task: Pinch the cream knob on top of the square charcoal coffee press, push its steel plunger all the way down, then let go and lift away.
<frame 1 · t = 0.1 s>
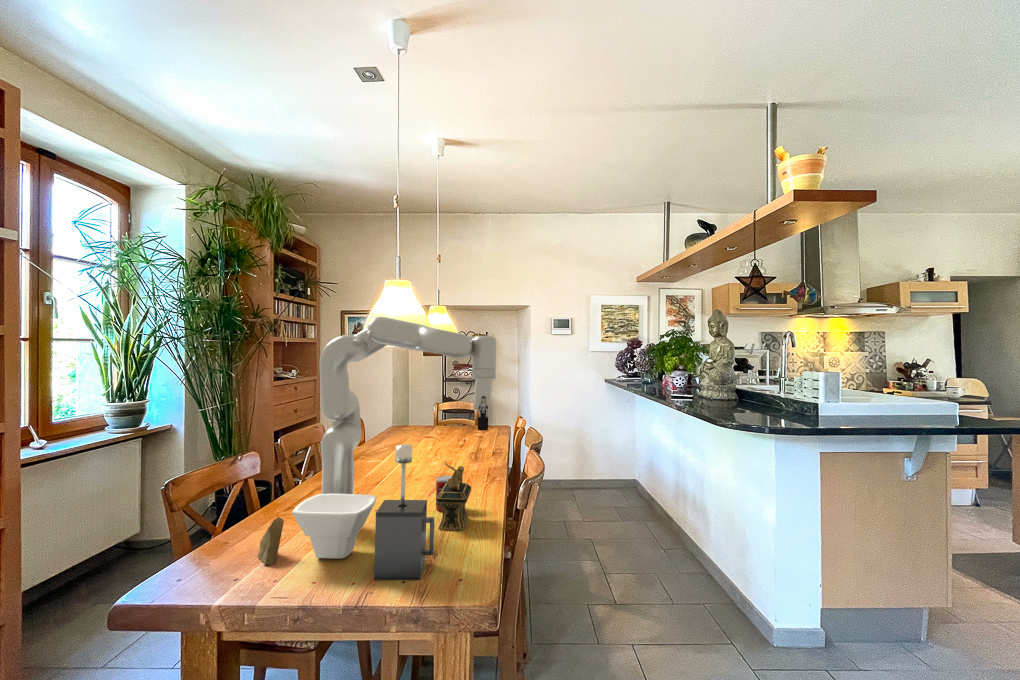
hand: (482, 428, 164), 31 cm above the table, tool pointing down, fingers open, 9 cm apart
decorative box: (452, 526, 164), on the table
canned food: (446, 510, 181), on the table
plunger: (403, 486, 130), point 21 cm above the table, slide at 0.0 cm
rock: (267, 559, 135), on the table
bowl: (335, 556, 138), on the table
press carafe: (400, 570, 129), on the table
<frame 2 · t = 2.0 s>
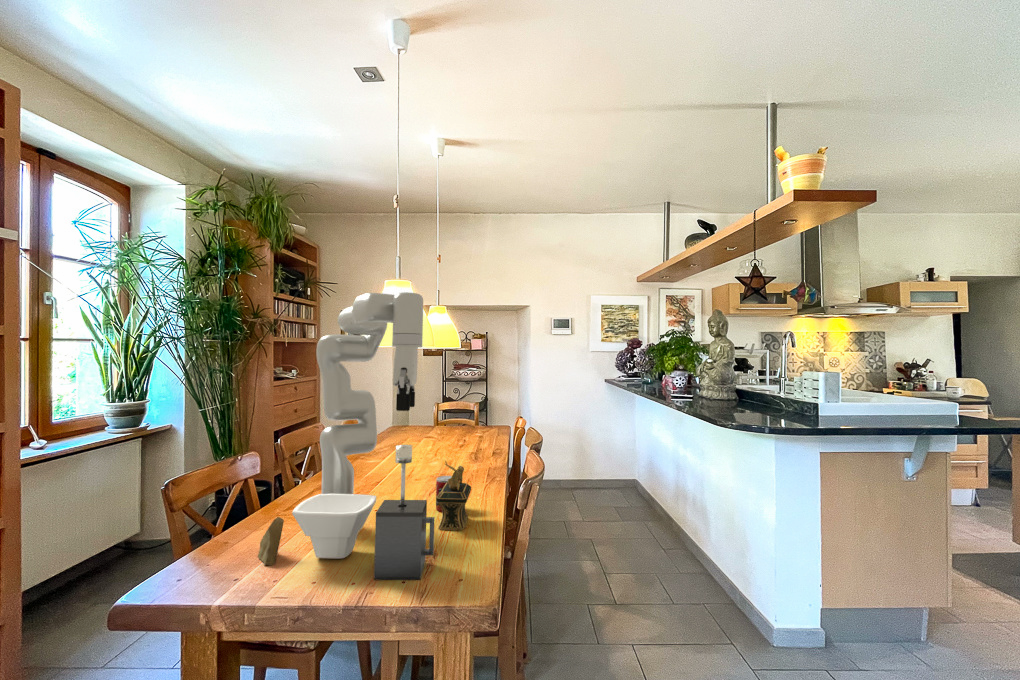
hand: (405, 408, 131), 40 cm above the table, tool pointing down, fingers open, 9 cm apart
nothing on the table moved.
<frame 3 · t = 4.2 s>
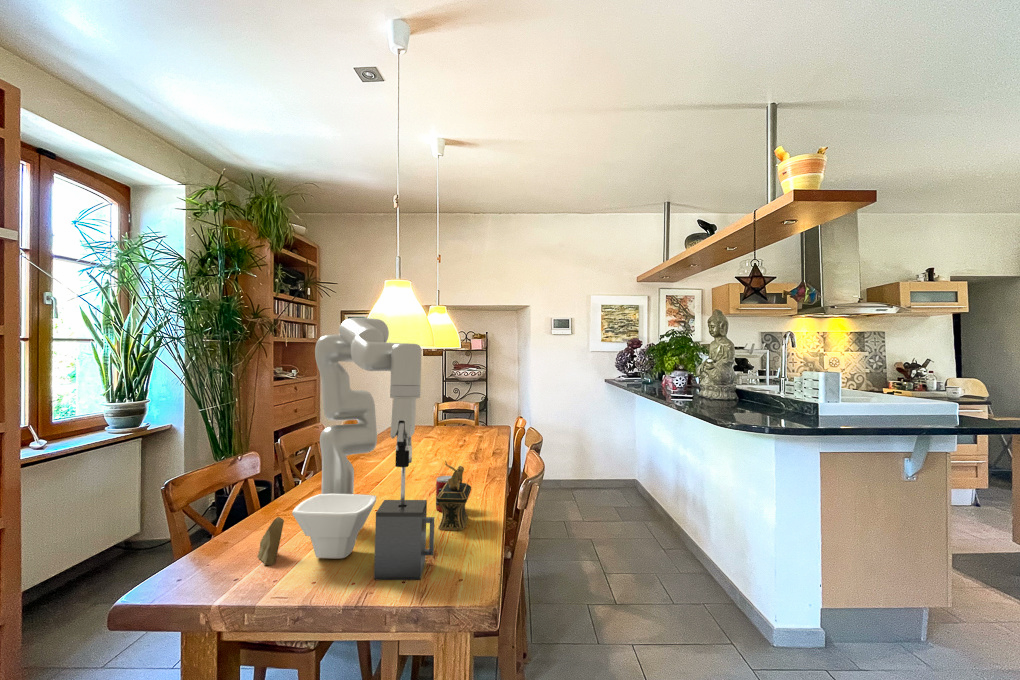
hand: (403, 464, 130), 26 cm above the table, tool pointing down, fingers closed on plunger, 4 cm apart
plunger: (403, 487, 130), point 21 cm above the table, slide at 0.0 cm, touching gripper
everything else where it was.
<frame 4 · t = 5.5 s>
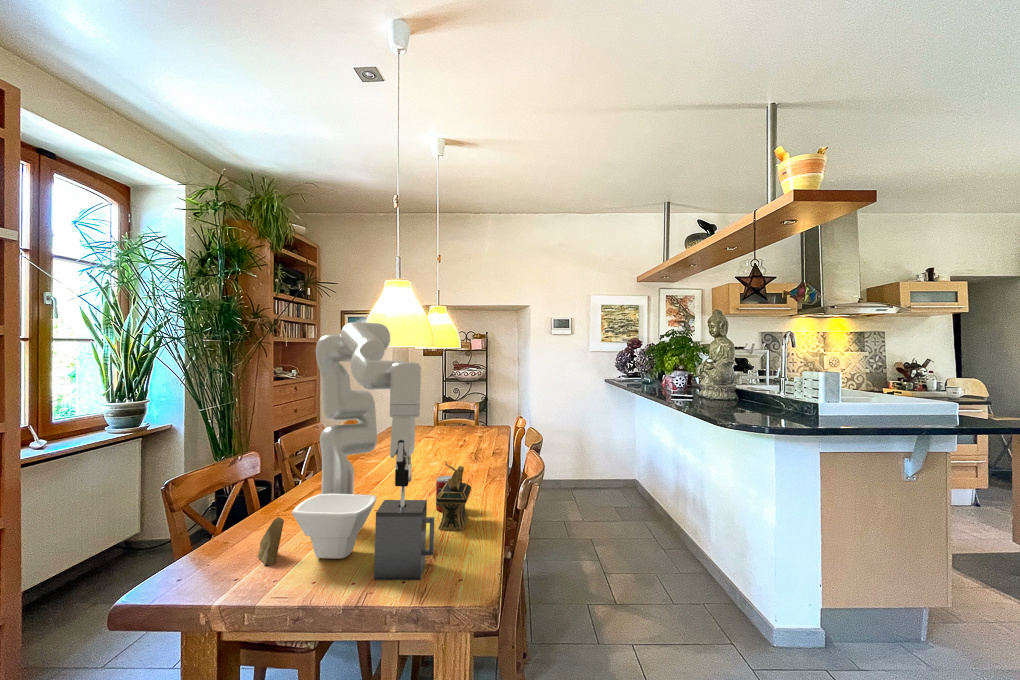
hand: (403, 482, 130), 22 cm above the table, tool pointing down, fingers closed on plunger, 4 cm apart
plunger: (402, 505, 130), point 16 cm above the table, slide at 4.8 cm, touching gripper
everything else where it was.
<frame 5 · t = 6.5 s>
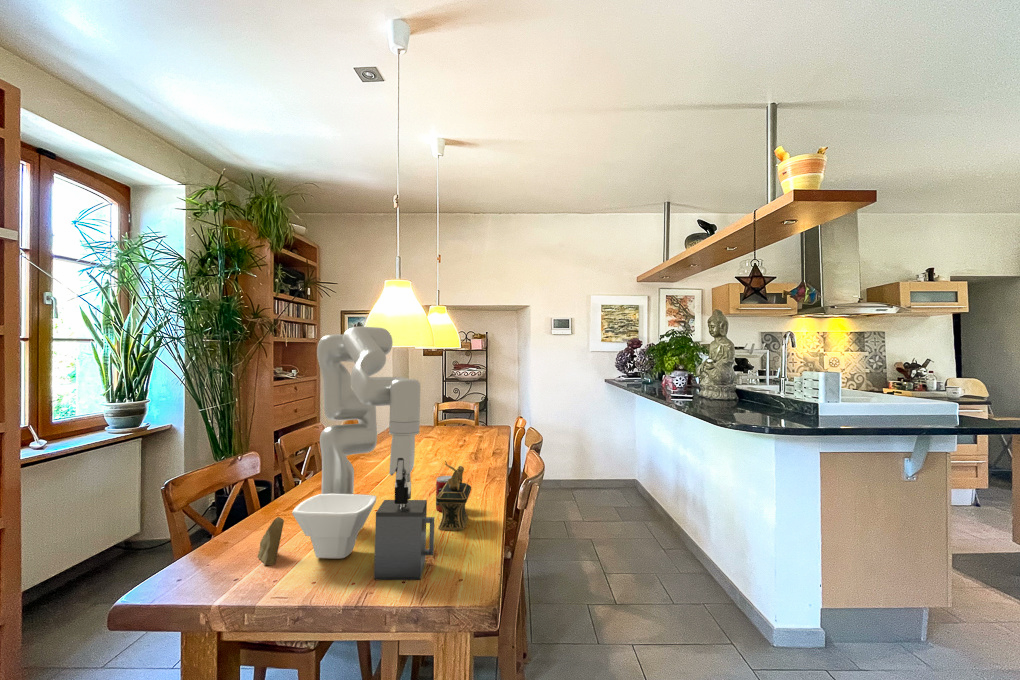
hand: (402, 500, 130), 17 cm above the table, tool pointing down, fingers closed on plunger, 4 cm apart
plunger: (402, 523, 129), point 12 cm above the table, slide at 9.1 cm, touching gripper
everything else where it was.
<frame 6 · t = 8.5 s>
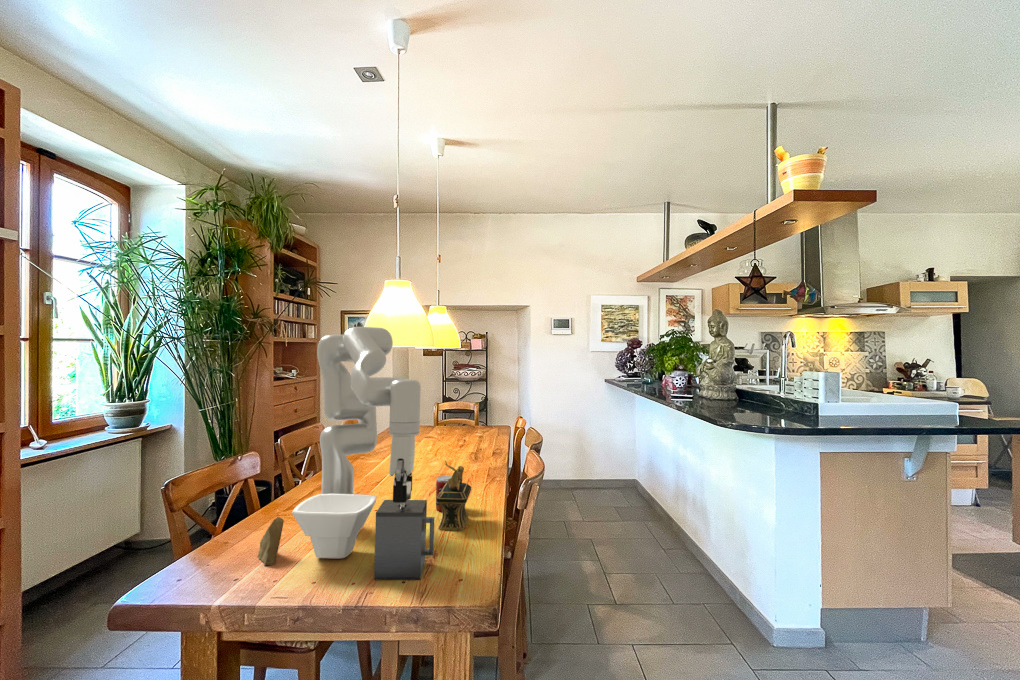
hand: (402, 496, 130), 18 cm above the table, tool pointing down, fingers open, 9 cm apart
plunger: (402, 523, 129), point 12 cm above the table, slide at 9.1 cm
everything else where it was.
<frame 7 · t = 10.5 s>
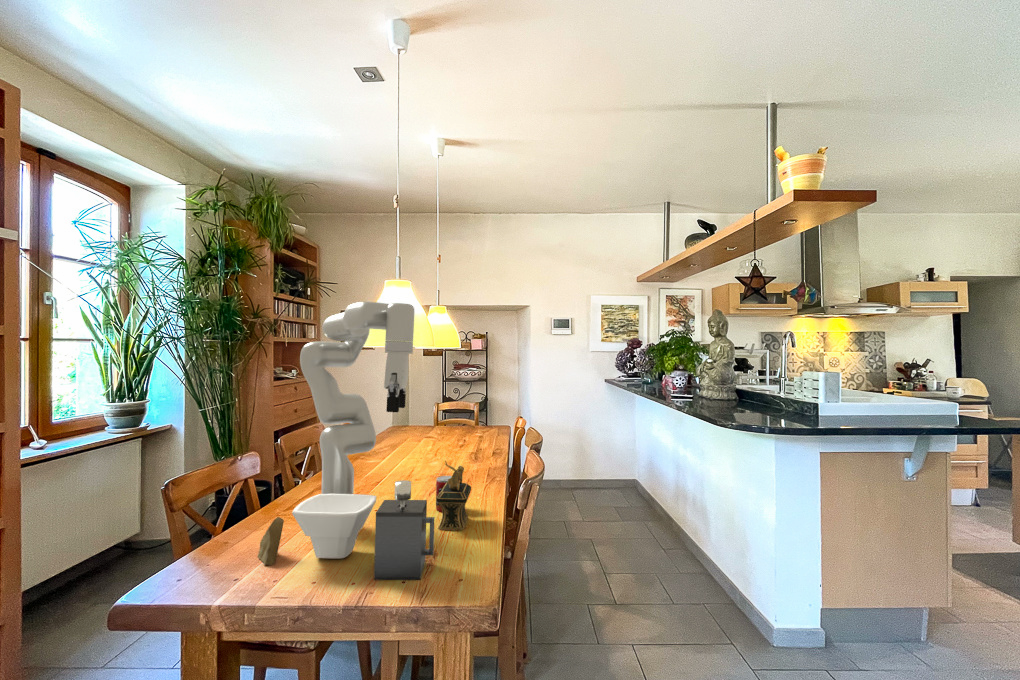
hand: (396, 409, 142), 39 cm above the table, tool pointing down, fingers open, 9 cm apart
nothing on the table moved.
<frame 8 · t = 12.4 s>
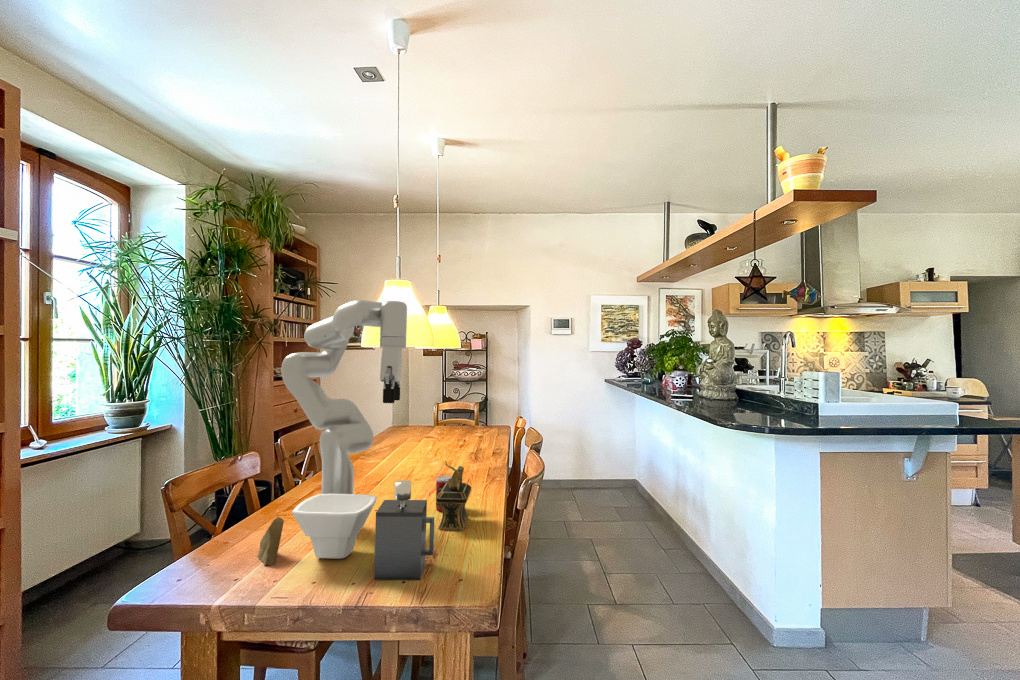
hand: (391, 401, 151), 40 cm above the table, tool pointing down, fingers open, 9 cm apart
nothing on the table moved.
at the end: plunger slide at 9.1 cm; the gripper is holding nothing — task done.
